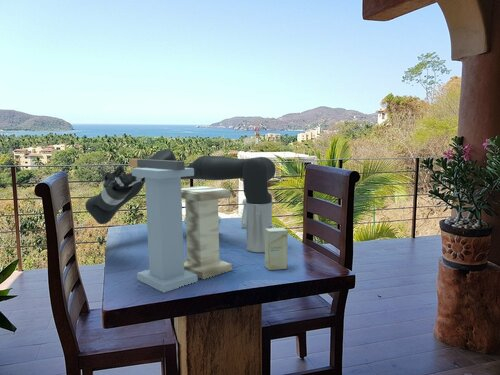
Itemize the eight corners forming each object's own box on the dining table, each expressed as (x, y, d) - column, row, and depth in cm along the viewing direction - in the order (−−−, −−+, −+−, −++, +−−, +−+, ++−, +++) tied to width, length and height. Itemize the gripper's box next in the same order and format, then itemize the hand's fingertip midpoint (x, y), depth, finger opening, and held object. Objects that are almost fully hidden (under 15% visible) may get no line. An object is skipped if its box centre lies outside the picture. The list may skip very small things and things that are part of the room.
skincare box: (268, 270, 118) (268, 231, 116) (264, 266, 122) (263, 228, 120) (288, 268, 119) (288, 229, 118) (283, 264, 124) (283, 226, 122)
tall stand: (137, 279, 112) (131, 168, 108) (170, 270, 119) (166, 166, 115) (163, 292, 102) (158, 171, 98) (197, 281, 109) (193, 168, 105)
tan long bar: (129, 166, 118) (129, 158, 118) (136, 165, 119) (135, 158, 119) (177, 170, 99) (177, 161, 99) (184, 169, 101) (184, 161, 101)
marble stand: (175, 268, 121) (172, 188, 118) (204, 260, 128) (201, 185, 125) (203, 279, 111) (200, 193, 108) (232, 270, 118) (230, 189, 115)
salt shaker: (252, 229, 172) (252, 200, 170) (240, 228, 173) (239, 199, 171) (255, 226, 178) (254, 198, 176) (242, 225, 179) (242, 197, 177)
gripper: (92, 181, 124) (109, 157, 113) (133, 178, 134) (152, 155, 123) (98, 203, 123) (116, 180, 112) (139, 197, 132) (160, 176, 121)
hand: (135, 167), depth 117 cm, fingers open, 8 cm apart
